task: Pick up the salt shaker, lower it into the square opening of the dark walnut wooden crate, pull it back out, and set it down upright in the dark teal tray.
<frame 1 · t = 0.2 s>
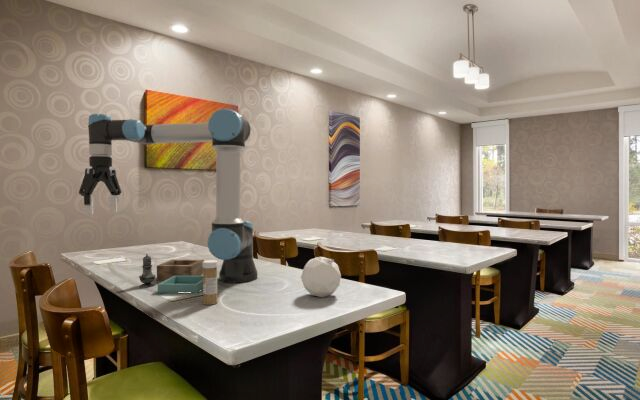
hand: (101, 213, 153), 27 cm above the table, tool pointing down, fingers open, 13 cm apart
tray: (185, 288, 148), on the table
geodesic sphere: (321, 296, 137), on the table
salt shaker: (147, 286, 152), on the table
wooden crate: (181, 277, 166), on the table
sprinkles bottle: (210, 303, 129), on the table
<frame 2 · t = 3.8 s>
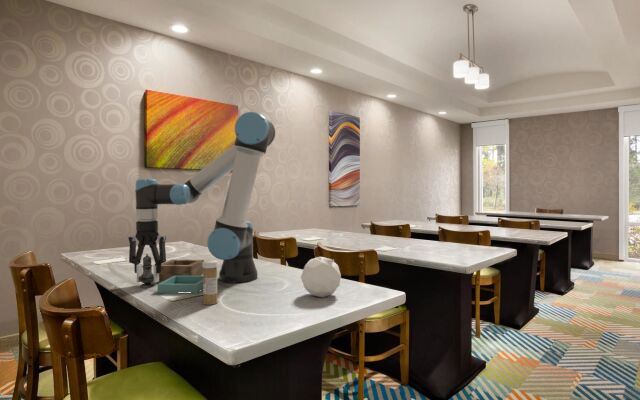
hand: (148, 281, 153), 1 cm above the table, tool pointing down, fingers closed on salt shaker, 6 cm apart
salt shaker: (147, 286, 152), on the table, touching gripper
everything else where it was.
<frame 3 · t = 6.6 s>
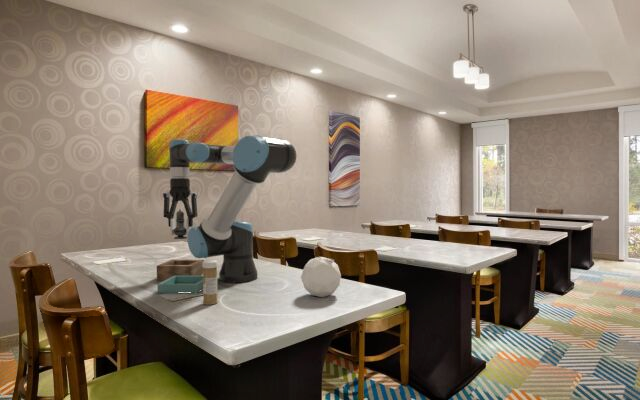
hand: (180, 234, 166), 17 cm above the table, tool pointing down, fingers closed on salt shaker, 6 cm apart
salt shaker: (180, 238, 165), point 16 cm above the table, touching gripper
everything else where it was.
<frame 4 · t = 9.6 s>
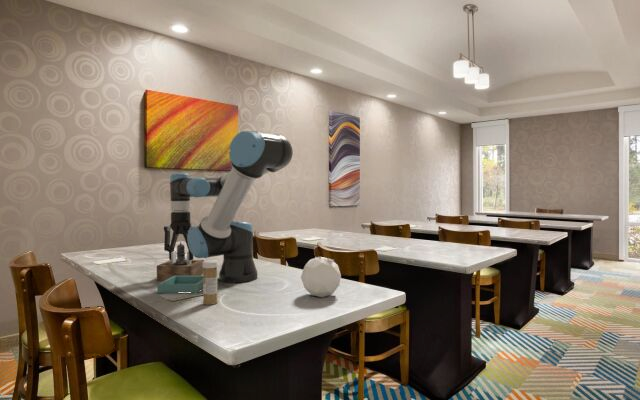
hand: (181, 267, 166), 4 cm above the table, tool pointing down, fingers closed on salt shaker, 6 cm apart
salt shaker: (181, 271, 166), point 2 cm above the table, touching gripper
everything else where it was.
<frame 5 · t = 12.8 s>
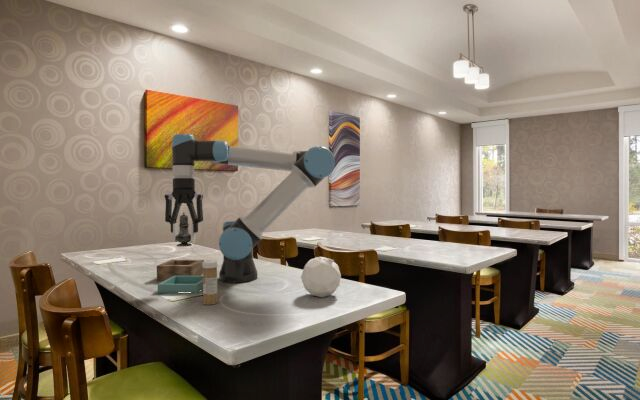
hand: (184, 241, 147), 17 cm above the table, tool pointing down, fingers closed on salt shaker, 6 cm apart
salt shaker: (184, 246, 147), point 16 cm above the table, touching gripper
everything else where it was.
when the fingers open (3 cm above the table, at t = 15.5 s): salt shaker drops 1 cm, resting on tray.
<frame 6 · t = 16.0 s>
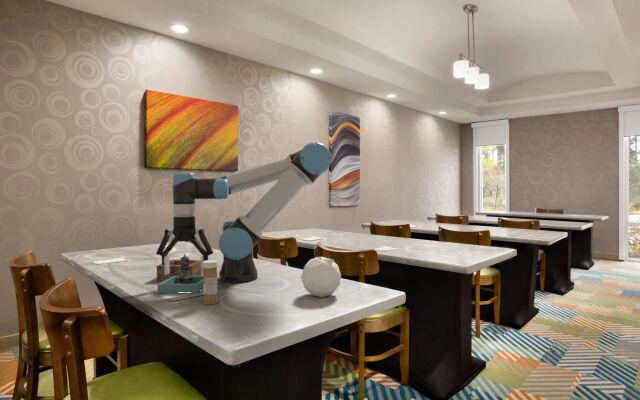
hand: (185, 274, 147), 5 cm above the table, tool pointing down, fingers open, 13 cm apart
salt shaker: (185, 287, 147), resting on tray
everything else where it was.
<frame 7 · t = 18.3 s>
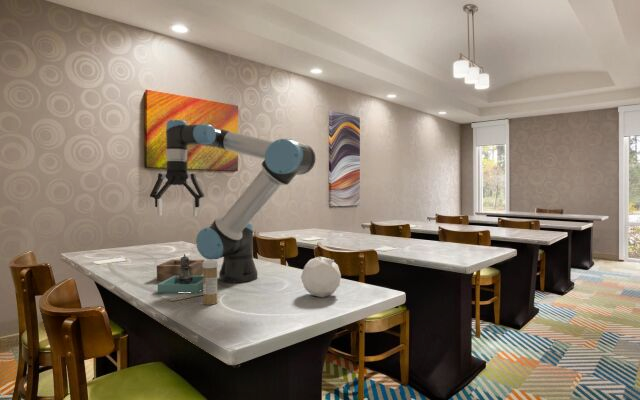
hand: (177, 215, 157), 26 cm above the table, tool pointing down, fingers open, 13 cm apart
nothing on the table moved.
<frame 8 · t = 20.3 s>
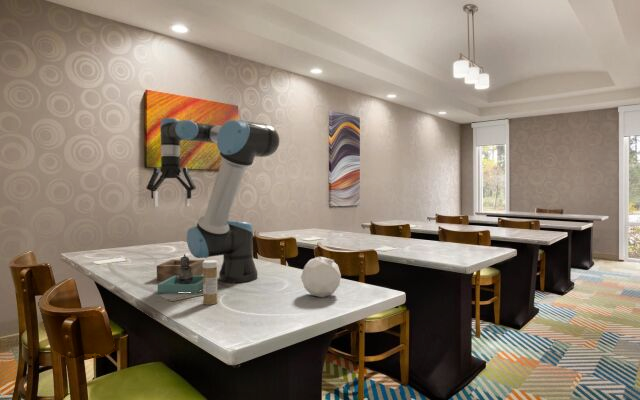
hand: (171, 206, 171), 29 cm above the table, tool pointing down, fingers open, 13 cm apart
nothing on the table moved.
at the end: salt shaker inside the target area on the tray (0.3 cm from its centre), point 0.4 cm above the tray's base; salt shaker tilted 0°; the gripper is holding nothing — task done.
